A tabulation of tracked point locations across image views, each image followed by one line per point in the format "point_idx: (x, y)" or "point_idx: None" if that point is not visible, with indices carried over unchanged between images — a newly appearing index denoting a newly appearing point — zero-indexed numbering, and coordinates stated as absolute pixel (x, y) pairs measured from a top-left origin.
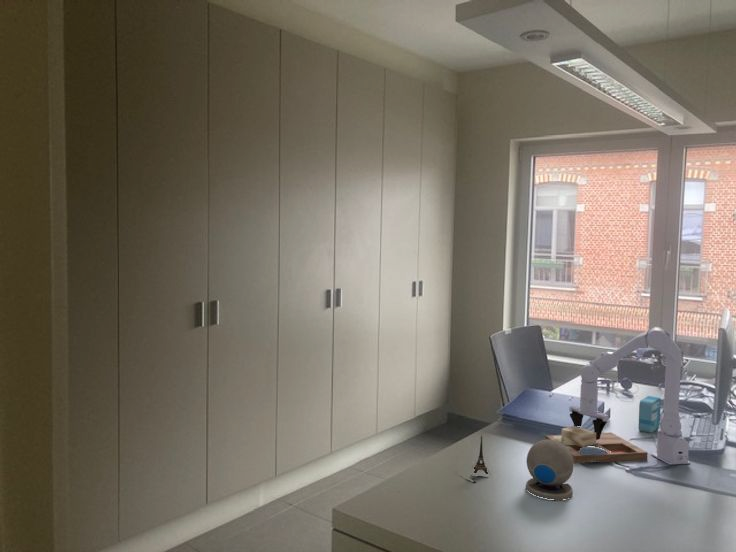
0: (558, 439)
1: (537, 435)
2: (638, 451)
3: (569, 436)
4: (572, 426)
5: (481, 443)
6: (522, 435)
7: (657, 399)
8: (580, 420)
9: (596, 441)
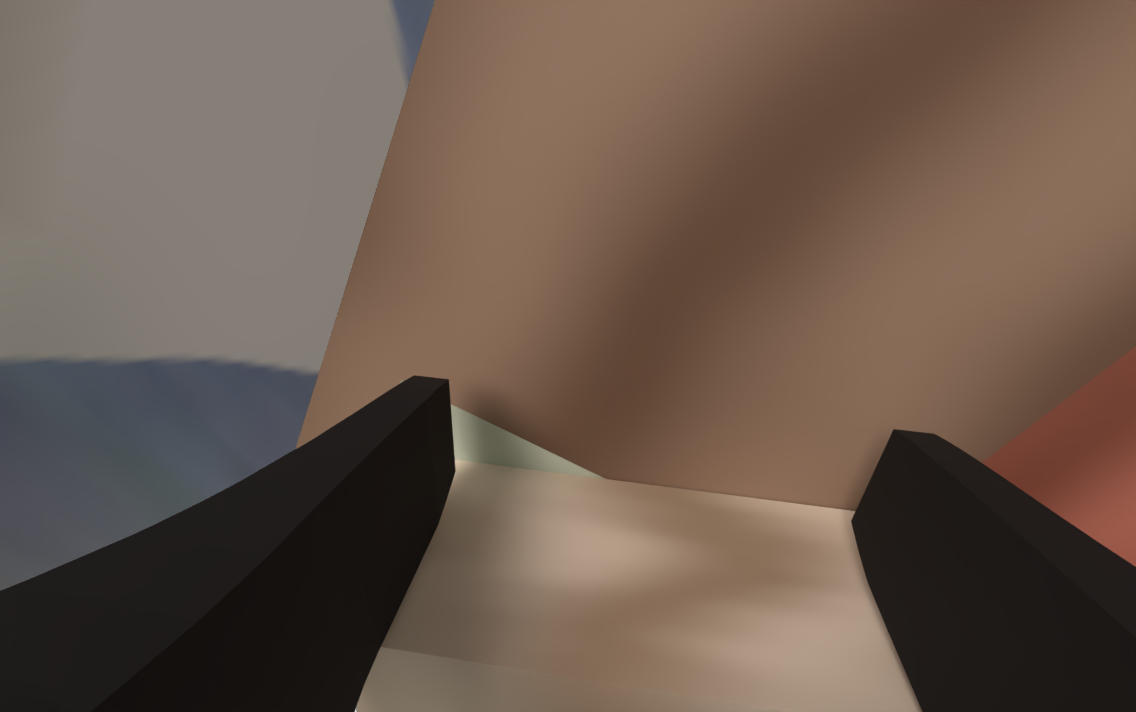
0: None
1: (58, 443)
2: None
3: None
4: (363, 689)
5: None
6: (40, 538)
7: None
8: (266, 660)
9: (840, 399)
